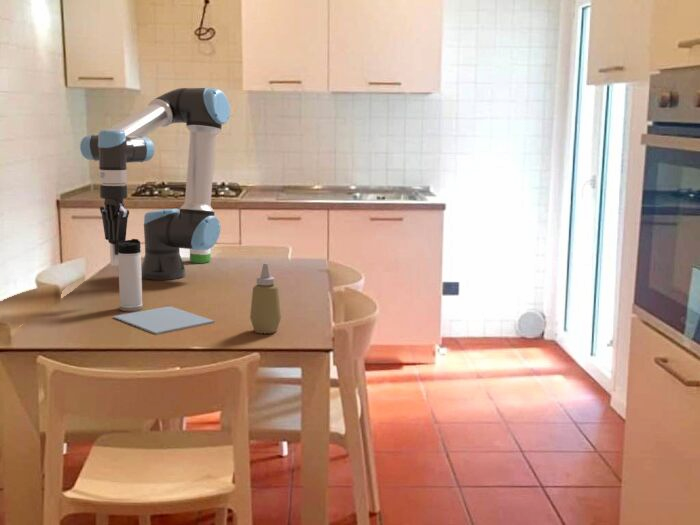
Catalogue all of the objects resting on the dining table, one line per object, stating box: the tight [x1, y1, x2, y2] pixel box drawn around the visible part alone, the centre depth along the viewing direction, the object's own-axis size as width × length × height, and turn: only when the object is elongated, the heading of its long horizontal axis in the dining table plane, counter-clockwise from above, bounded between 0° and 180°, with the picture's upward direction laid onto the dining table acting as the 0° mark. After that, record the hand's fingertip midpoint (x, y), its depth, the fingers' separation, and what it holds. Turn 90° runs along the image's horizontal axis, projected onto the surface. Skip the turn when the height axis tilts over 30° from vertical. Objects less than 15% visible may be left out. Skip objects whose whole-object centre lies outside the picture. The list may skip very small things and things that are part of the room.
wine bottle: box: [189, 248, 212, 264], centre depth 300 cm, size 8×8×30 cm
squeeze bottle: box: [249, 263, 282, 335], centre depth 206 cm, size 8×8×18 cm
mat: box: [113, 305, 215, 335], centre depth 217 cm, size 22×18×1 cm
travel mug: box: [117, 238, 143, 313], centre depth 227 cm, size 6×7×20 cm
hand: (116, 265), depth 232 cm, fingers closed
